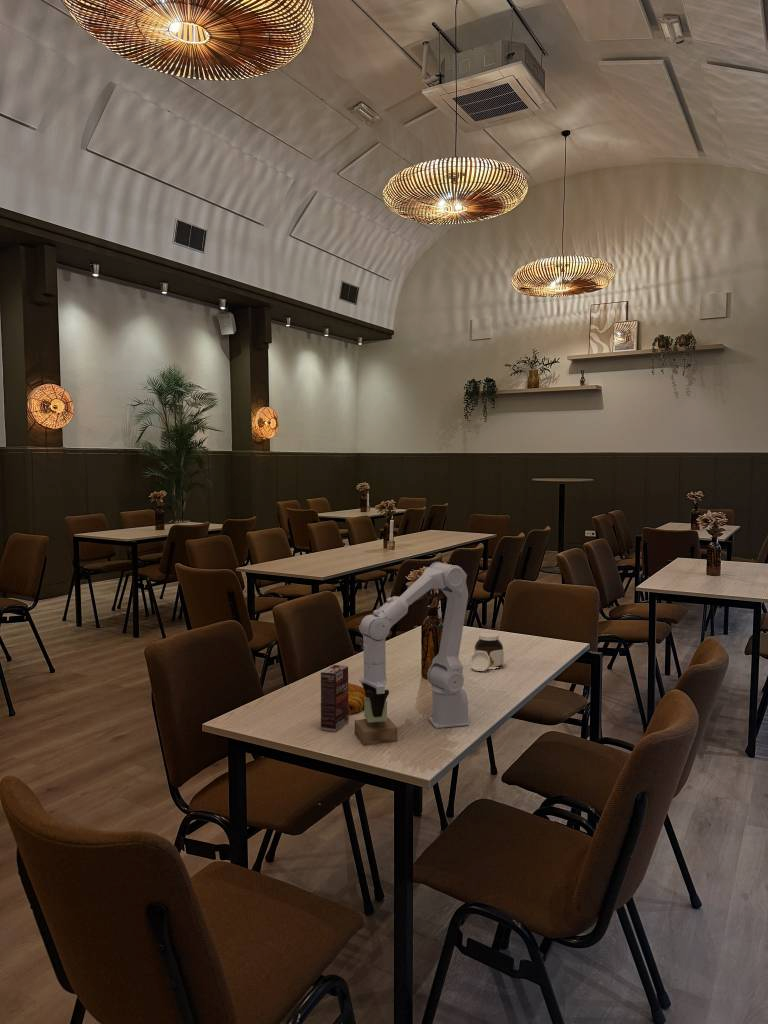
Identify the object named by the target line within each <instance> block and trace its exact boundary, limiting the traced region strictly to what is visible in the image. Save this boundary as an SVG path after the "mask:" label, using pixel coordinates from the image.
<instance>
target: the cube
mask: <svg viewBox="0 0 768 1024" xmlns="http://www.w3.org/2000/svg"><path fill="white" fill-rule="evenodd" d="M363 711H364V713H363V714H364V719H366V720H367V721H368V723H369V722H380V721H387V717H388V701H387V700H386V701H385V704H384V708H383V713H382V717H374V716H373V713H372V707H371V701H370V698H369V697H365V698H364V710H363Z"/></svg>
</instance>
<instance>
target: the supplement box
mask: <svg viewBox="0 0 768 1024" xmlns="http://www.w3.org/2000/svg"><path fill="white" fill-rule="evenodd" d="M348 683H349V666H347V665H341V664H340V665H339V664H333V665H332V666H331V667H329V668H326V669H325V670H323V671H321V672H320V730H321V731H325V732H332V733H333V732H334V733H336V732H338V730H340V729H341V728H343V727H344V726H345V725H346V724H349V715H350V714H349V709H348Z"/></svg>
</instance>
